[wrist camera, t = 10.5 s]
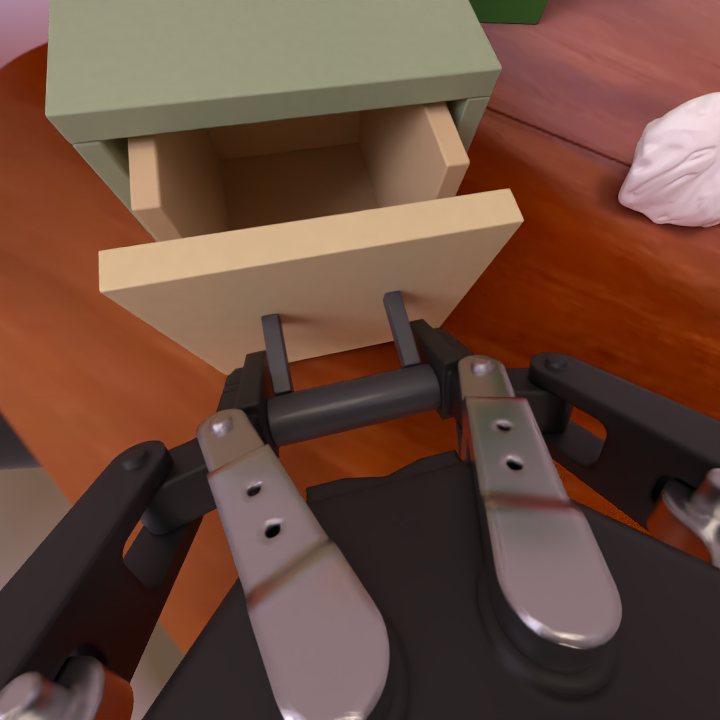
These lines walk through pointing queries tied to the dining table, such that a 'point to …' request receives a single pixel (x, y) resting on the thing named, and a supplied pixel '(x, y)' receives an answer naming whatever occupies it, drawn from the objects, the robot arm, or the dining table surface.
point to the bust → (678, 166)
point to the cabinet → (253, 66)
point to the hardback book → (509, 10)
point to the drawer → (309, 251)
